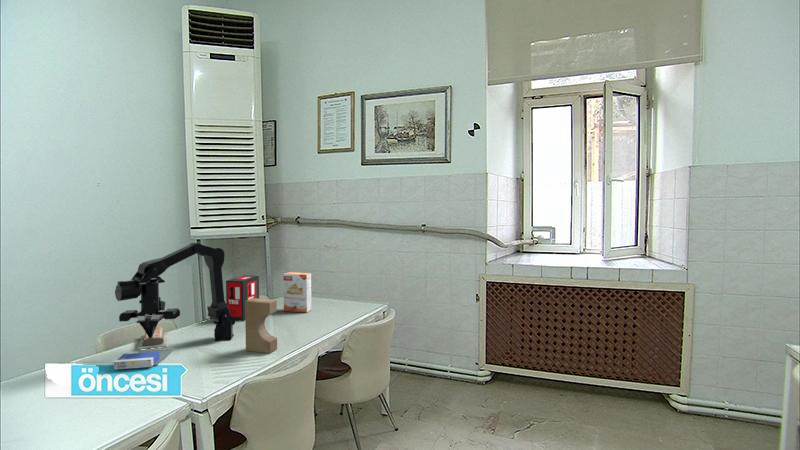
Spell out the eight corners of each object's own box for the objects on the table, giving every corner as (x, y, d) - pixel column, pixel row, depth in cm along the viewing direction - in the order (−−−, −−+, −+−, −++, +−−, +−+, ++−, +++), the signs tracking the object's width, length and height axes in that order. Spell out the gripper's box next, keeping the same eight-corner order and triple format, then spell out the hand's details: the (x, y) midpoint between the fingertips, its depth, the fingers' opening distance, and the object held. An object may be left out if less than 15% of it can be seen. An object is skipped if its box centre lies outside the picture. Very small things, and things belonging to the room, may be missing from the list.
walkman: (159, 358, 147) (123, 361, 145) (159, 351, 147) (122, 354, 145) (151, 367, 140) (112, 370, 137) (151, 359, 139) (112, 362, 137)
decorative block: (277, 349, 159) (277, 299, 159) (269, 354, 154) (268, 302, 153) (254, 346, 163) (253, 297, 162) (245, 351, 157) (244, 300, 156)
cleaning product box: (243, 321, 199) (242, 281, 199) (226, 320, 201) (225, 280, 200) (259, 312, 216) (258, 275, 215) (243, 311, 217) (243, 275, 216)
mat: (173, 350, 158) (173, 348, 158) (157, 366, 142) (157, 364, 142) (140, 352, 156) (140, 350, 156) (119, 368, 140) (119, 366, 140)
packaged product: (140, 328, 172) (167, 325, 177) (140, 339, 173) (167, 335, 177) (137, 340, 157) (166, 336, 162) (137, 352, 157) (166, 348, 162)
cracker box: (283, 311, 218) (282, 273, 217) (289, 308, 224) (288, 271, 223) (306, 313, 214) (306, 274, 213) (311, 310, 220) (311, 272, 219)
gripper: (184, 290, 158) (185, 329, 158) (132, 292, 154) (133, 332, 155) (174, 296, 147) (175, 338, 147) (117, 298, 143) (118, 341, 144)
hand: (150, 337), depth 149 cm, fingers closed
